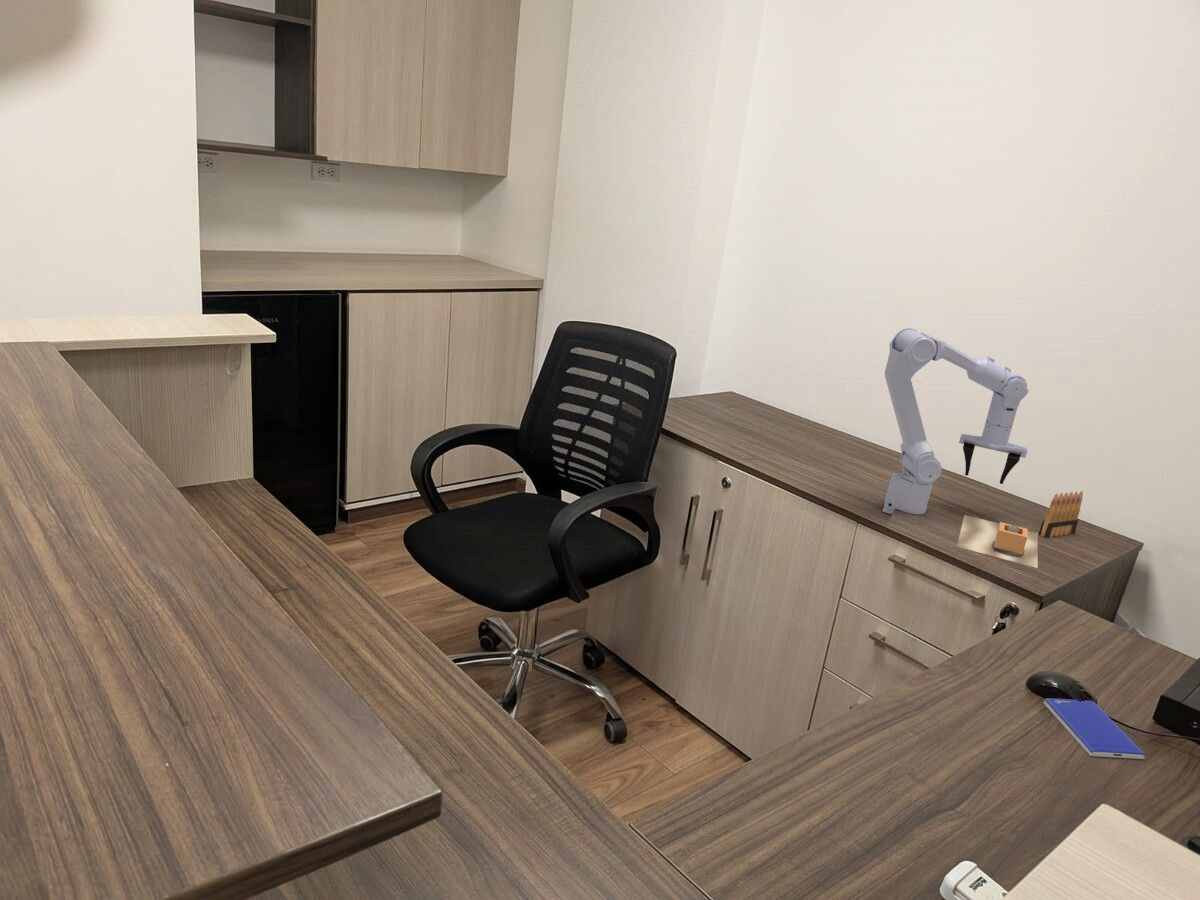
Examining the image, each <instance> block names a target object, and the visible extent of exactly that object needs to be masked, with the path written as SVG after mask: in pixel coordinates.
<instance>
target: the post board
mask: <svg viewBox="0 0 1200 900" xmlns="http://www.w3.org/2000/svg"><path fill="white" fill-rule="evenodd" d="M999 524H1000V522H999V523H998V522H994V521H989V520H987V519H982V518H979V517H974V516H970V515H966V514H964V515H963V520H962V523H961V527H960V532H959V536H958V540H957V544H956V547H957V548H961V549H964V550H969V551H972V552H976V553H980V554H983V555H987V556H991V557H995V558H998V559H1002V560H1004V561H1009V562H1013V563H1016V564H1020V565H1024V566H1028V567H1032V568H1035V569H1038V567H1039V565H1038V564H1039V561H1038V559H1039V558H1038V557H1039V556H1038V547H1039V537H1038V536H1039V535H1038V534H1039V532H1034V531H1031V530H1030V531H1029V530H1028V536H1027V541H1026V544H1025V547H1024V551H1023V554H1018V553H1014V552H1011V551H1007V550H1003V549H999V548H995V547H994V545H995V538H996V534H997V531H998V527H999ZM1019 527H1020V526H1018V525H1014V524H1010V525H1009V529H1008V531H1010V532H1014V533H1018V531H1019ZM973 556H974V557H976V556H975V555H973ZM984 559H985V560H988V561H990V560H989V559H986V558H984ZM988 561H987V562H988Z"/></svg>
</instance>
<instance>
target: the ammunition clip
mask: <svg viewBox="0 0 1200 900" xmlns="http://www.w3.org/2000/svg"><path fill="white" fill-rule="evenodd" d="M1083 497H1084V493H1083V490H1081V491H1079V493H1078V491H1075V492H1074V493H1073V492H1070V493H1069V494H1068V492H1065V494H1063V493H1062V492H1061V493H1060V494H1058V493H1055V495H1054V496H1053V498H1052V499H1051V501H1050V505H1049V506H1048V507H1049V508H1048V509H1047V512H1046V515H1045V518H1044V520H1042V523H1041V525H1040V529H1039V531H1038V536H1041V537H1043V538H1044V539H1048V538H1053V537H1059V536H1063V535H1067V536H1068V535H1069V534H1070V535H1074V534H1075V533H1076V530H1077V526H1078V522H1079V519H1078V517H1079V515H1080V511H1081V506H1082V501H1083Z"/></svg>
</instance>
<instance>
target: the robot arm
mask: <svg viewBox="0 0 1200 900" xmlns="http://www.w3.org/2000/svg"><path fill="white" fill-rule="evenodd" d="M888 347H889V354H888V358H887V361H886V365H885V369H884V377H885V381H886V384H887V389H888V392H889V396H890V400H891V402H892V407H893V410H894V415H895V417H896V418H895V419H896V422H897V425H898V429H899V433H900V436H901V440H902V443H901V444H900V446H899V447H900V450H901V451H900V452H901V454H900V457H899V459H900V460H899V462H900V465H901V466H902V471H901V473H896V472H892V474H891V477H890V480H889V484H888V488H887V492H886V494H885V497H884V504H883V508H882V512H883V513H886V514H890V515H893V514H894V512H895V510H899V511H901V512H904V513H908V514H912V515H913V514H914V515H923V514H925V513H926V511H927V507H928V505H929V504H928V503H929V499H930V495H931V493H932V492H931V491H932V488H933V484H934V482H935V481H937V480H938V479H939V478H940V476H941V474H942V471H943V470H942V469H943V467H942V464H941V462H940V461H939V460H938V459H937V457H936V456H935V454H934V451H933V449H932V447H931V445H930V443H929V442H928V440H927V435H926V432H925V428H924V425H923V424H924V423H923V421H922V420H923V419H922V417H921V413H920V409H919V406H918V402H917V398H916V394H915V390H914V386H913V385H914V384H913V383H912V382H913V381H912V378H913V376H914V375H915V374H916V373H917V372H918V371H919V370H921V369H922V368H923V367H925V366H926V365H927V364H929V362H931V361H933V362H937V361H939V360H941V359H943V360H945V361H946V362H949V363H951V364H953V365H956V366H957V367H959V368H961V369H963V370H965V371H966V374H967V378H968V379H969V381H970V380H971V381H972V382H974V383H976V384H978V385H980V386H981V387H984V388H986V389H988V390H990V391H991V392H993V393H992V397H991V400H990V401H991V402H990V405H989V409H988V411H987V416H986V419H985V423H984V427H983V430H982V434H981V436H979V435H971V434H966V433H961V434H960V437H959V441H958V443H959V444H963V446H962V450H963V455H964V461H965V472H964V476H966V477H967V476H969V474H970V468H971V464H972V459H973V456H974V455H973V454H974V450H975V447H979V448H984V449H988V450H992V451H995V452H1000V453H1006V454H1007V457H1006V461H1005V465H1004V467H1003V470H1002V473H1001V475H1000V480H999V484H1001V485H1003V484H1004V481H1005V480H1006V478H1007V476H1008V475H1009V473H1010V471H1011V470H1012V469H1013V468H1014V467H1015V466H1017V464H1018V463H1019V461H1020V459H1021V458H1024V459H1025V458H1026V457H1027V453H1028V447H1025V446H1022V445H1017V444H1014V443H1011V442H1009V441H1010V436H1011V432H1012V430H1013V425H1014V422H1015V418H1016V416H1017V415H1016V414H1017V411H1018V407H1020V403H1021V401H1022V400H1023V399H1024V398H1025V397H1026V396H1027V395H1028V392H1029V389H1028V384H1027V383H1028V382H1027V381H1026V379H1025V378H1024V377H1022V376H1021V375H1018V374H1016V373H1015V372H1012V368H1010V367H1008V366H1005V367H1003V366H1002V365H1000V364H998V363H996V362H995V361H996V359H994V358H993V357H992V356H991V357H990V356H986V357H985V356H978V357H976V358H974V357H972V356H971V355H969V354H967V353H965V352H964V351H962V350H960V349H959V348H956V347H955V346H953V345H952V344H950V343H948V342H947V341H944V340H942V339H940V338H938V337H936V336H932V335H931V334H926V333H925V332H919V331H918V330H916V329H914V328H910V327H906V328H902V329H900V330H899V331H898V332H897V333H896V334H895V335H894V337H893V338H892V340H891V341H889V346H888Z"/></svg>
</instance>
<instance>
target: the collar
mask: <svg viewBox="0 0 1200 900" xmlns="http://www.w3.org/2000/svg"><path fill="white" fill-rule="evenodd" d="M1009 525H1011V524H1009V523H1006V522H1002V521H1000V522H999V527H998V531H997V534H996V538H995V545H994V547H995V548H999V549H1003V550H1007V551H1011V552H1014V553H1018V554H1023V551H1024V547H1025V544H1026V541H1027V536H1028V531H1029V530H1028V528H1026V527H1025V528H1024V527H1021V526H1018V527H1019V531H1018V533H1014V532H1010V531H1008V529H1009Z"/></svg>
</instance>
